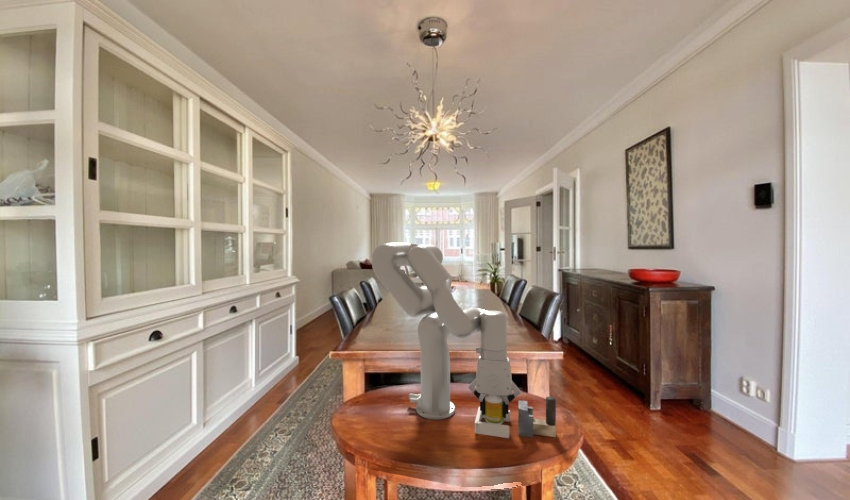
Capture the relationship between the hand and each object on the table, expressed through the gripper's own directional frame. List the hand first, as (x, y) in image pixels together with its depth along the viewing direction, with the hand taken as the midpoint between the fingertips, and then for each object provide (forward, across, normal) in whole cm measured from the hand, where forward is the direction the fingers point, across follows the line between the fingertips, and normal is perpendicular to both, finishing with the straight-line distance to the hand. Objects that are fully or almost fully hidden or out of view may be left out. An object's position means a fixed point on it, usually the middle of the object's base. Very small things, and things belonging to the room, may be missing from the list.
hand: (494, 413), depth 99 cm
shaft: (+4, +13, 0) cm, 13 cm away
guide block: (+4, +9, 0) cm, 10 cm away
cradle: (+4, 0, 0) cm, 4 cm away
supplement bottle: (+2, 0, 0) cm, 2 cm away
